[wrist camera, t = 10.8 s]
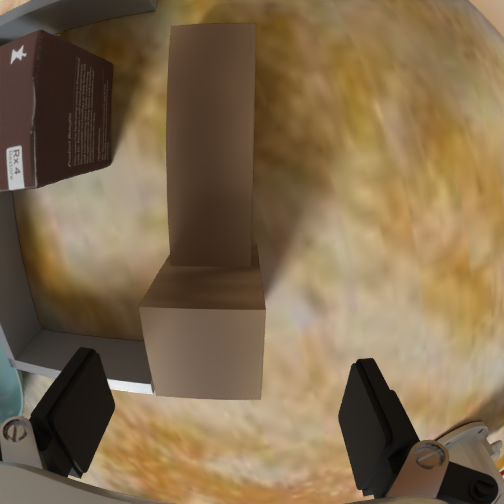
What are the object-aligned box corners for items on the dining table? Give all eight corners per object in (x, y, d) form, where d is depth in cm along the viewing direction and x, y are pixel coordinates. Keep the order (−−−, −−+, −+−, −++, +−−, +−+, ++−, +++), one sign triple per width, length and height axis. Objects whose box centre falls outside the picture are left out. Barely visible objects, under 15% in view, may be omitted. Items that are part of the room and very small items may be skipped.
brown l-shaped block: (261, 45, 13) (274, -17, 7) (254, 314, 18) (260, 399, 12) (176, 47, 13) (135, -9, 7) (181, 313, 18) (156, 395, 12)
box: (33, 81, 13) (-50, 69, 6) (116, 62, 13) (44, 23, 6) (31, 176, 15) (-53, 202, 8) (113, 169, 15) (34, 191, 8)
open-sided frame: (157, -1, 12) (136, -33, 8) (166, 352, 19) (152, 394, 15) (10, 41, 12) (-27, 31, 8) (36, 336, 19) (11, 367, 15)
